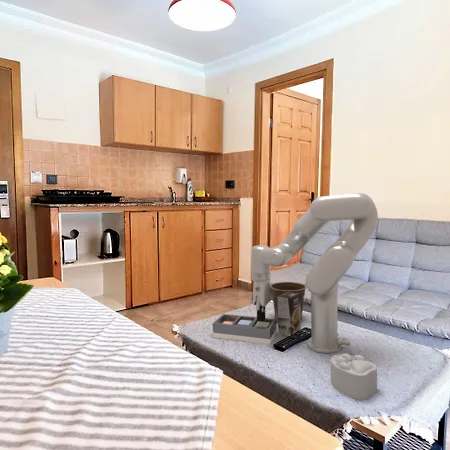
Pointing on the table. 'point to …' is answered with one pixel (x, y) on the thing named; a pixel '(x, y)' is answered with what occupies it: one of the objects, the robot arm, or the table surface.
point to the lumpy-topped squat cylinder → (353, 376)
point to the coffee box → (289, 313)
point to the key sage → (262, 324)
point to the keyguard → (244, 330)
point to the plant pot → (287, 287)
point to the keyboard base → (245, 338)
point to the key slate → (244, 323)
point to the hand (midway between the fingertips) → (261, 320)
